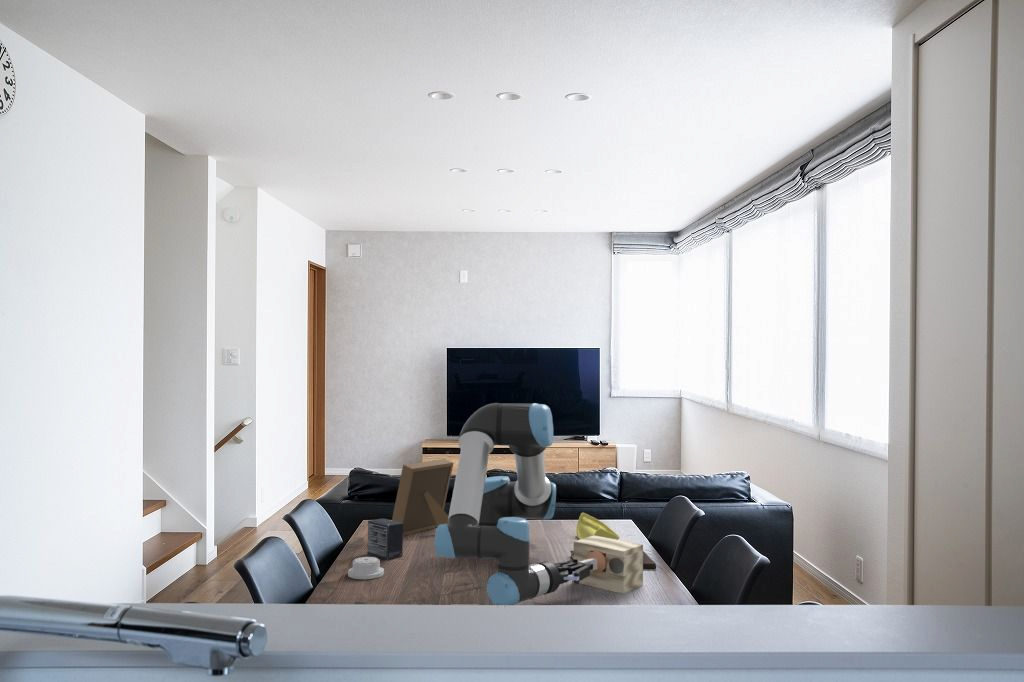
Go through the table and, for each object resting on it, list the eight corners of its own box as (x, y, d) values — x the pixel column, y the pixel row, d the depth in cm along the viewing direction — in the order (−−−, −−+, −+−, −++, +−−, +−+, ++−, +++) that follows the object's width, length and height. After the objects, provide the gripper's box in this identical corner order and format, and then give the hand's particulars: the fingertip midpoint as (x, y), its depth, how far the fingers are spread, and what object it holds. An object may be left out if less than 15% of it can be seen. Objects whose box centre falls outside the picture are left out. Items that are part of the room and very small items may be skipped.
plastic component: (621, 538, 245) (596, 526, 243) (612, 558, 244) (586, 546, 242) (602, 521, 264) (579, 510, 262) (593, 540, 264) (569, 529, 262)
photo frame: (389, 535, 255) (391, 462, 255) (431, 524, 272) (433, 457, 273) (420, 542, 246) (423, 467, 247) (462, 531, 264) (464, 461, 264)
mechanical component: (340, 576, 205) (366, 582, 200) (340, 560, 205) (366, 566, 200) (365, 568, 214) (391, 574, 208) (365, 553, 214) (391, 558, 208)
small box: (404, 556, 227) (404, 522, 227) (387, 560, 222) (387, 525, 223) (383, 550, 234) (383, 517, 235) (366, 554, 229) (367, 520, 230)
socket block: (621, 594, 191) (622, 551, 192) (571, 582, 202) (572, 541, 202) (642, 585, 200) (643, 544, 200) (593, 574, 210) (593, 535, 210)
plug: (603, 574, 194) (603, 553, 195) (586, 570, 198) (586, 550, 198) (626, 566, 203) (626, 545, 203) (609, 562, 207) (609, 542, 207)
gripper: (518, 589, 182) (575, 573, 200) (560, 600, 174) (615, 582, 191) (519, 559, 183) (575, 545, 200) (560, 568, 174) (615, 553, 192)
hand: (595, 563), depth 196 cm, fingers closed
